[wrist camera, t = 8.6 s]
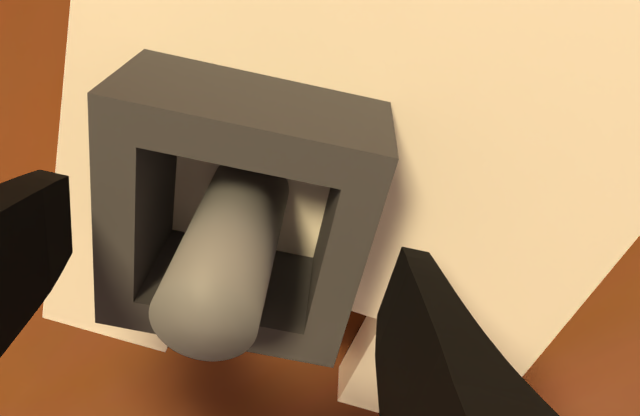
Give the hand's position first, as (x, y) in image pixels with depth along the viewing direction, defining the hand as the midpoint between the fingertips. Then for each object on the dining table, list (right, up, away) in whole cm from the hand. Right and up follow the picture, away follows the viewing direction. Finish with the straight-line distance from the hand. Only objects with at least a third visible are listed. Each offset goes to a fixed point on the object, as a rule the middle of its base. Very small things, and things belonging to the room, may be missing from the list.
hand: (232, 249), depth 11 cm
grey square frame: (0, +2, +2) cm, 3 cm away
